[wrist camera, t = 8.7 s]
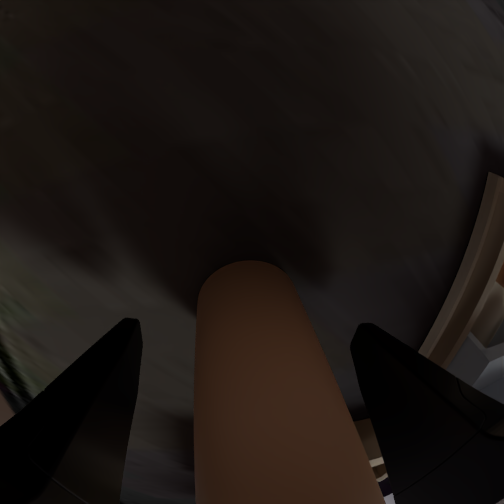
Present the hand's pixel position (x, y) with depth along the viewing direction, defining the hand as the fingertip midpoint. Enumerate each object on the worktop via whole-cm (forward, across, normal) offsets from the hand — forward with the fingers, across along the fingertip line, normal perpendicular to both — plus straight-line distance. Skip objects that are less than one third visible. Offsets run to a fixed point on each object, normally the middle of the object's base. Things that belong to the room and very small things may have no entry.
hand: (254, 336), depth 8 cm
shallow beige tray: (+2, -13, +1) cm, 13 cm away
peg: (+2, 0, 0) cm, 2 cm away
